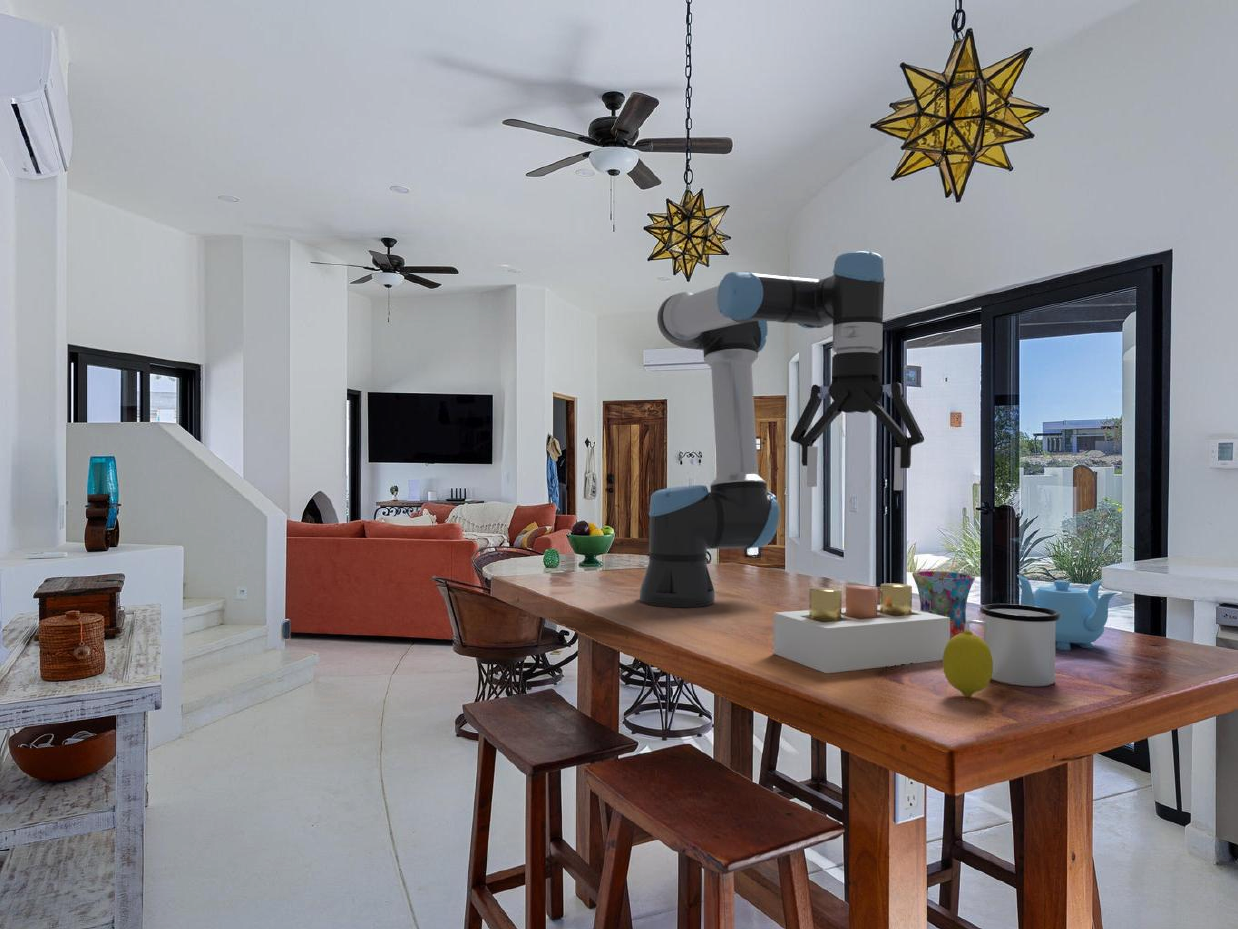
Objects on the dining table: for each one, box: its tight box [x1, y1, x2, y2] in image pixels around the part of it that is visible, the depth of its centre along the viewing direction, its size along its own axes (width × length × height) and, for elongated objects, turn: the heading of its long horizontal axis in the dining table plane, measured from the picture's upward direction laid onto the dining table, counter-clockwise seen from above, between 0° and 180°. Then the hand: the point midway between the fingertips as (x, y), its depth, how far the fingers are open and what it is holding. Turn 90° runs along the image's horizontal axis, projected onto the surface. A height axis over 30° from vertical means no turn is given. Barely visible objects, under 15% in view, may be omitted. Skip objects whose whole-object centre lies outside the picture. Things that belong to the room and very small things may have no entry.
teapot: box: [1016, 574, 1118, 651], centre depth 125 cm, size 13×13×10 cm
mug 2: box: [965, 603, 1061, 688], centre depth 105 cm, size 12×9×9 cm
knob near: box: [808, 587, 843, 623], centre depth 113 cm, size 4×4×5 cm
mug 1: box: [912, 570, 976, 639], centre depth 127 cm, size 12×9×11 cm
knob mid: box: [845, 585, 879, 620], centre depth 115 cm, size 4×4×5 cm
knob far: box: [879, 582, 913, 617], centre depth 118 cm, size 4×4×5 cm
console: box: [773, 604, 950, 674], centre depth 115 cm, size 12×22×6 cm, turn 114°
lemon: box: [942, 630, 993, 698], centre depth 95 cm, size 6×6×8 cm
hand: (853, 488), depth 125 cm, fingers open, 13 cm apart
